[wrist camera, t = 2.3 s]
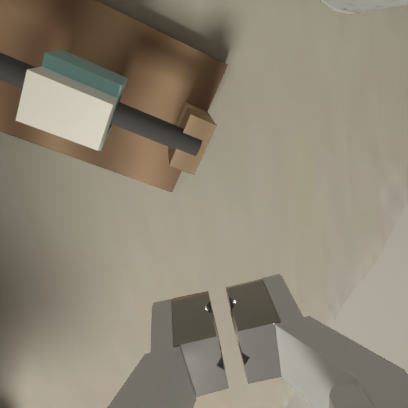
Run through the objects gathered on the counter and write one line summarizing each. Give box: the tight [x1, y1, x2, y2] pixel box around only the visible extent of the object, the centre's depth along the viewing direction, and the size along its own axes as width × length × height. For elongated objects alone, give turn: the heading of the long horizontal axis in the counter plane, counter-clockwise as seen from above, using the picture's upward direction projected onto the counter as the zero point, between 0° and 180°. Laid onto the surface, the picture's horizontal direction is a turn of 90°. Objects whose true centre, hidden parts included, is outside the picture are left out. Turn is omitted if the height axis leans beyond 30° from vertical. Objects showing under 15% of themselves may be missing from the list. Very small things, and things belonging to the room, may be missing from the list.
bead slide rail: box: [0, 53, 202, 156], centre depth 21 cm, size 25×4×4 cm, turn 66°
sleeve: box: [16, 51, 128, 151], centre depth 21 cm, size 4×4×7 cm
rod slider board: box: [0, 0, 227, 192], centre depth 24 cm, size 26×12×6 cm, turn 66°
